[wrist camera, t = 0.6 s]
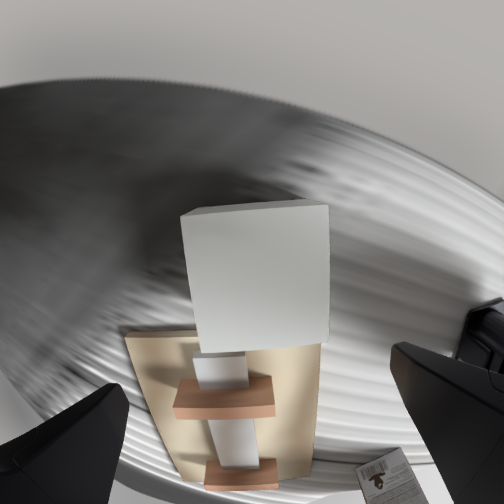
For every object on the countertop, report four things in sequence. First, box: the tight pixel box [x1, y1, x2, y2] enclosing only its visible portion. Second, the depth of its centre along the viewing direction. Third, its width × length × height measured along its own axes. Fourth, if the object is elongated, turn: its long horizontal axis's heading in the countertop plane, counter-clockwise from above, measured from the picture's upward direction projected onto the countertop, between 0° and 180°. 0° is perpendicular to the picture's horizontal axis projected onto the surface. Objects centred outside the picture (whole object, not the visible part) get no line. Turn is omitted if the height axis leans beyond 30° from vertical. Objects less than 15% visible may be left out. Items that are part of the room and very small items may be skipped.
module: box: [180, 198, 330, 353], centre depth 16 cm, size 7×7×6 cm
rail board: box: [124, 330, 321, 491], centre depth 20 cm, size 14×20×4 cm
